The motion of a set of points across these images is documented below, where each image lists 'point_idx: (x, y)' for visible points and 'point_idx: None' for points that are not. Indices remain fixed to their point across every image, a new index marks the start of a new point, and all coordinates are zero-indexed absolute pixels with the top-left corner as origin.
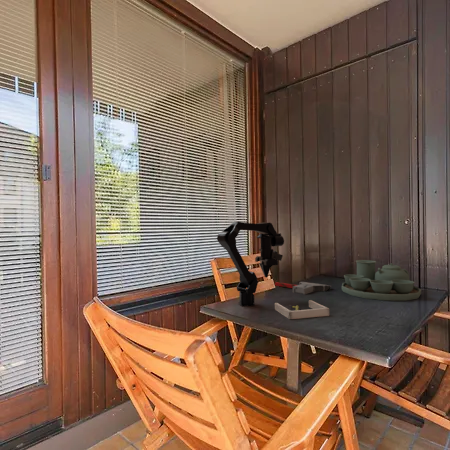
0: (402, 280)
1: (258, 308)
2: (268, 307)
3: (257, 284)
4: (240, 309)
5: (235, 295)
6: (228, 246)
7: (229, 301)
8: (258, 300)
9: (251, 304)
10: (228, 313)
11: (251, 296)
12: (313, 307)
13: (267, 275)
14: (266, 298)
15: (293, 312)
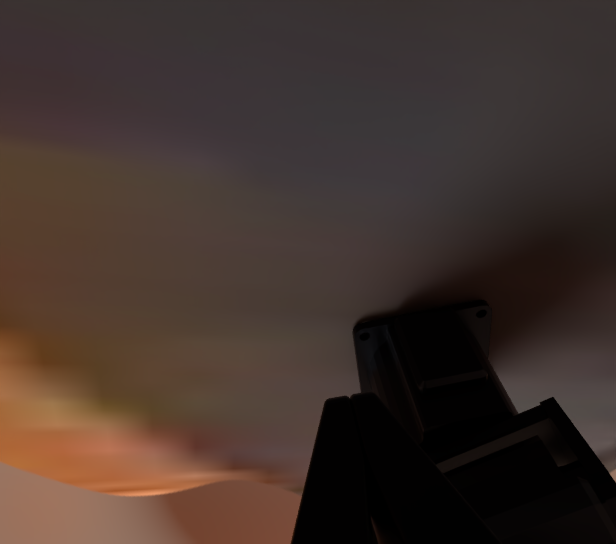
0: None
1: (587, 274)
2: (601, 177)
3: (554, 461)
4: (549, 395)
5: (15, 432)
6: None
7: (276, 461)
8: (262, 241)
9: (478, 330)
10: (607, 451)
11: (500, 389)
12: None
13: (407, 442)
14: (146, 123)
15: None
